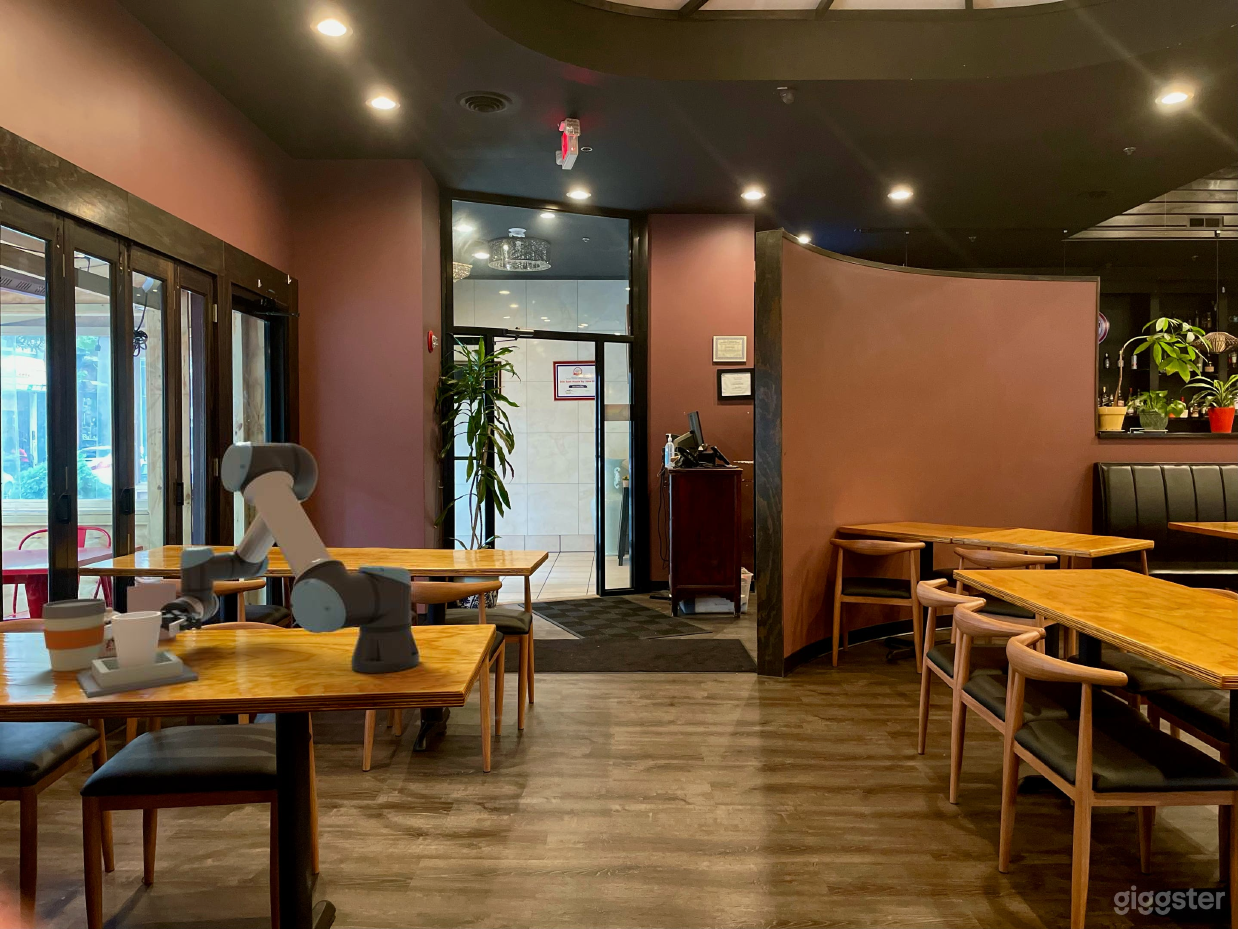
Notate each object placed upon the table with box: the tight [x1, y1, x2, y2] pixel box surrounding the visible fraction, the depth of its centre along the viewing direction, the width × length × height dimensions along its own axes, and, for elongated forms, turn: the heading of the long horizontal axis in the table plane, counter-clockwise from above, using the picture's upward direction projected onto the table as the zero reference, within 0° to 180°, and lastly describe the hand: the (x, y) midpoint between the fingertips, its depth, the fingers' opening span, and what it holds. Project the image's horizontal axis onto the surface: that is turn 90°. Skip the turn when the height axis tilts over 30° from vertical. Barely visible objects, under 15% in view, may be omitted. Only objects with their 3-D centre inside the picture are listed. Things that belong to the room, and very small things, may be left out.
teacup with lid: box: [98, 607, 121, 659], centre depth 200 cm, size 12×9×12 cm
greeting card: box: [126, 582, 177, 641], centre depth 215 cm, size 11×7×15 cm, turn 82°
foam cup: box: [111, 611, 162, 669], centre depth 174 cm, size 10×9×13 cm
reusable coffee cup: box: [41, 598, 107, 672], centre depth 186 cm, size 13×12×15 cm
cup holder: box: [76, 649, 199, 698], centre depth 174 cm, size 20×20×4 cm
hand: (138, 631), depth 175 cm, fingers open, 13 cm apart
